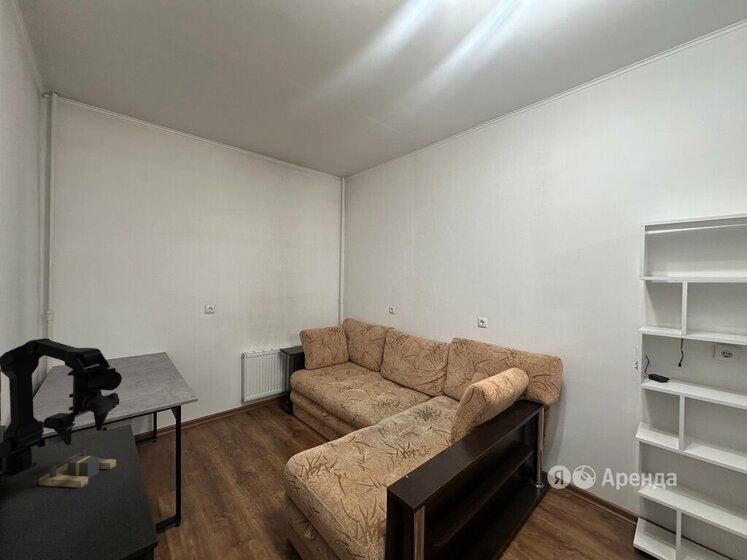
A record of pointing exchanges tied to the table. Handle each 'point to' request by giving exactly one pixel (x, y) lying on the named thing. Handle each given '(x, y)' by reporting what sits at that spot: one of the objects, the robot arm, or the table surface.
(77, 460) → the banded grey block
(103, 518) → the table surface
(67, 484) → the wooden u-shaped holder
